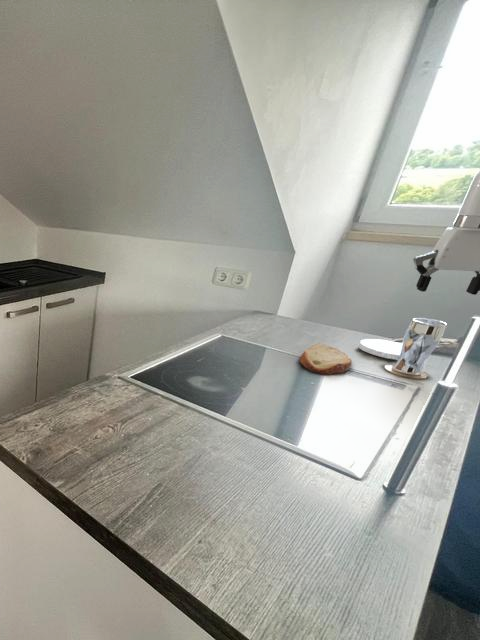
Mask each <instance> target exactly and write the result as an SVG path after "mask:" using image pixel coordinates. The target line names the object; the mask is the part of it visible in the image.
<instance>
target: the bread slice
mask: <svg viewBox="0 0 480 640" xmlns="http://www.w3.org/2000/svg"><path fill="white" fill-rule="evenodd" d="M299 361H300V363H301V365H302V366H303V367H304V368H305V369H307V370H308V371H310V372H311V373H314V374H320V375H330V374H331V375H332V374H342V373H343V374H344V373H346V372H347V371H348V370H349V369H350V368H351V366H352V359H351V358H350V357H349V356H348V354H346V353H345V352H343V351H341V350H340V349H338V348H336V347H332V346H329V345H326V344H323V343H316V344H313V345H311V346H309V347H308V348H307V349H306V350H305V351H303V352H302V354H301V355H300V357H299Z"/></svg>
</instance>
